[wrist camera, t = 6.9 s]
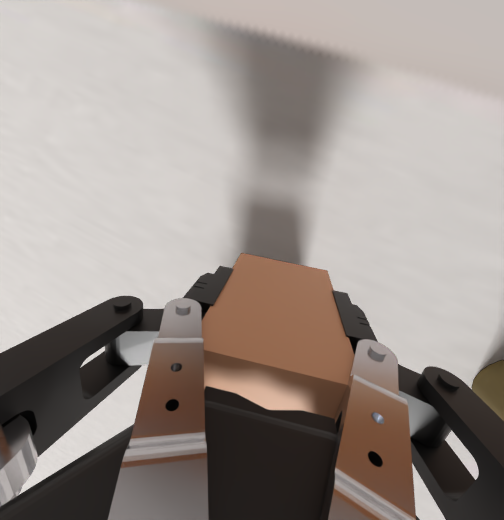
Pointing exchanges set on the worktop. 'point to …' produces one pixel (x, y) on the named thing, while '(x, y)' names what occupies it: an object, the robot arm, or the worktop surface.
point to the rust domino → (277, 338)
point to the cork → (491, 387)
